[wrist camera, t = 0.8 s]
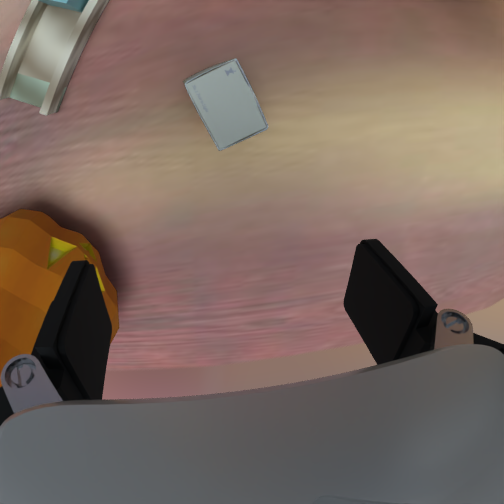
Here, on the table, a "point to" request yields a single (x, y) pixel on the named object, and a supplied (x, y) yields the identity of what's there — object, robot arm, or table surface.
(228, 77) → the skincare box
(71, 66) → the twin rail frame
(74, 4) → the block
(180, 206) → the table surface
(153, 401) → the robot arm
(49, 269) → the decorative pumpkin
